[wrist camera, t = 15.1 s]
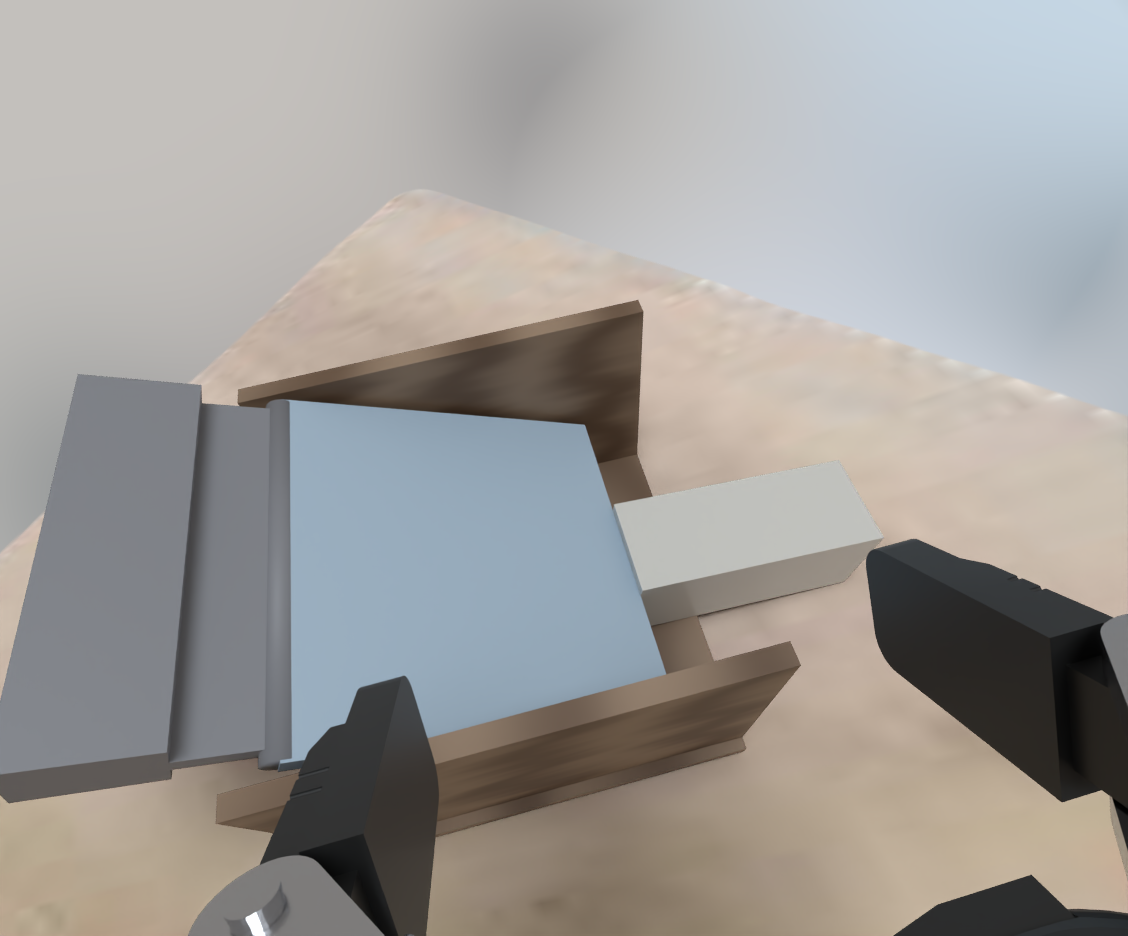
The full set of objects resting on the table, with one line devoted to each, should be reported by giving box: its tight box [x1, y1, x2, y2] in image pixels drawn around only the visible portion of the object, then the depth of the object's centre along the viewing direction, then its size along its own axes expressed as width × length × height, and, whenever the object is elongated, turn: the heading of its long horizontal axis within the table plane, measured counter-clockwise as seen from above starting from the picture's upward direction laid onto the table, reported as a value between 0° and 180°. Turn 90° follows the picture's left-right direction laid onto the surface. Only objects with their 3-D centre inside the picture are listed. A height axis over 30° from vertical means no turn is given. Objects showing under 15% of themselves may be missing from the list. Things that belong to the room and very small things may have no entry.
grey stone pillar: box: [613, 460, 884, 626], centre depth 33 cm, size 5×5×12 cm
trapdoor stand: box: [216, 300, 801, 837], centre depth 30 cm, size 18×18×12 cm
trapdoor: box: [0, 374, 666, 803], centre depth 26 cm, size 22×15×3 cm
